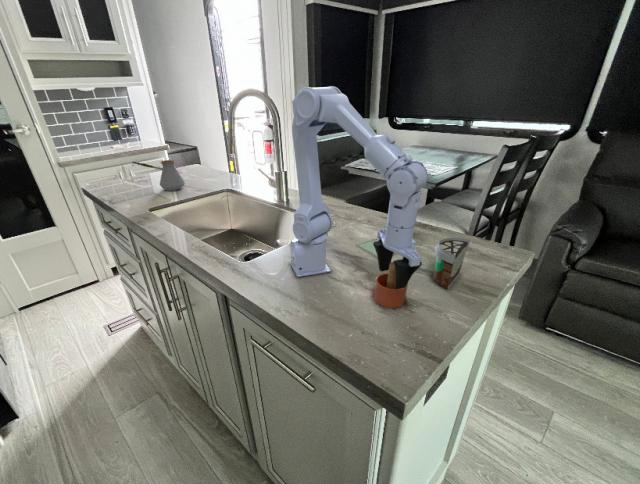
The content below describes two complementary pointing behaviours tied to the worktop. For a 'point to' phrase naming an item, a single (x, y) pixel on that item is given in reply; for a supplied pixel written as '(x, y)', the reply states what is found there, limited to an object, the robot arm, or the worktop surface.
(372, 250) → the napkin
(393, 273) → the stirrer
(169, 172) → the coffee pot
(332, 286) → the worktop surface
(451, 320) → the worktop surface
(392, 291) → the cup
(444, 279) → the food container
